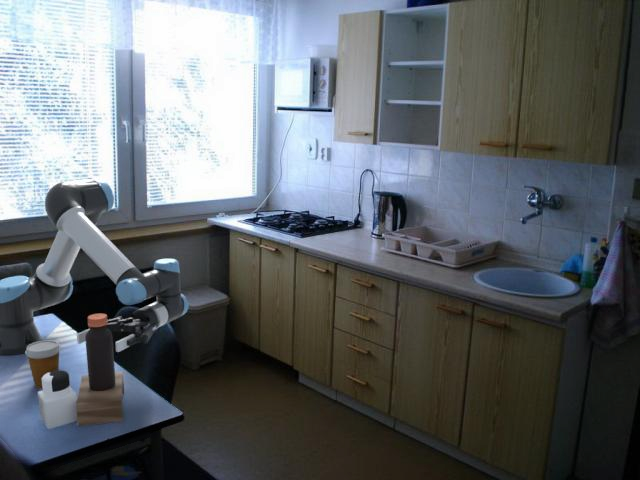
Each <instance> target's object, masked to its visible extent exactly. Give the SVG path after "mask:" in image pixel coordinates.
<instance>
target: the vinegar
mask: <svg viewBox="0 0 640 480" xmlns="http://www.w3.org/2000/svg"><path fill="white" fill-rule="evenodd" d="M107 320H108V315H107V314H106V313H93V314H89V315H88V316H87V326H88V329H89V328H90V330H89V331H88V332H87V333H86V336H85V340H86V341H85V348H86V349H85V350H86V351H85V352H86V362H87V372H88V373H87V375H88V377H89V387H90V388H91V389H92V390H95V391H103V390H107V389H110V388H112V387H113V386H114V385H115V372H116V369H115V357H114V356H115V355H114V343H113V332H111V331H110V330H109V329H108V328H107V325H108V324H107V323H108V321H107Z"/></svg>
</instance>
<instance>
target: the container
mask: <svg viewBox="0 0 640 480" xmlns="http://www.w3.org/2000/svg"><path fill="white" fill-rule="evenodd" d="M41 389H42V390H39V391H37V399H38V411H39V418H40V420H41V421H42V423H43V424H44V425H45V427H46V428H47V429H48V430H51V429H52V430H53V429H54V428H58V427H61V426H65V425H68V424H72V423H74V422H78V419H77V408H76V404H77V399H78V395H77V393H76V392H75V391H74V390H73V389H72V388H71V384H70V374H69V372H67V371H66V370H59V369H58V370H57V371H51V372H49V373H47V374H45V375H44V376H43V377H42V388H41Z"/></svg>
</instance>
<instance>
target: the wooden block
mask: <svg viewBox="0 0 640 480" xmlns="http://www.w3.org/2000/svg"><path fill="white" fill-rule="evenodd" d="M124 394H125V384H124V371H115V385H114V386H113V387H112V388H110V389H107V390H103V391H95V390H92V389H91V388H90V387H89V377H88V374H86V375H81V379H80V384H79V390H78V395H77V404H76V408H77V419H78V421H77V427H78V428H79V427H85V426H94V425H102V424H110V423H116V422H123V421H124V413H123V395H124Z"/></svg>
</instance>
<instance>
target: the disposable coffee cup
mask: <svg viewBox="0 0 640 480" xmlns="http://www.w3.org/2000/svg"><path fill="white" fill-rule="evenodd" d="M61 348H62V347H61V345H60V344H59V342H58V341H57V340H52V339H47V340H41V341H38V342H34V343H32V344H30V345H28V346H27V349H26V351H25V356H26V357H27V360H28V365H29V367H30V371H31V376H32V380H33V383H34V384H33V385H34V387H35V388H37V389H43V388H42V377H43V376H44V375H45V374H47V373H49V372H51V371H57V370H59V365H60V364H59V363H60V352H61V351H60V350H61Z"/></svg>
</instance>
